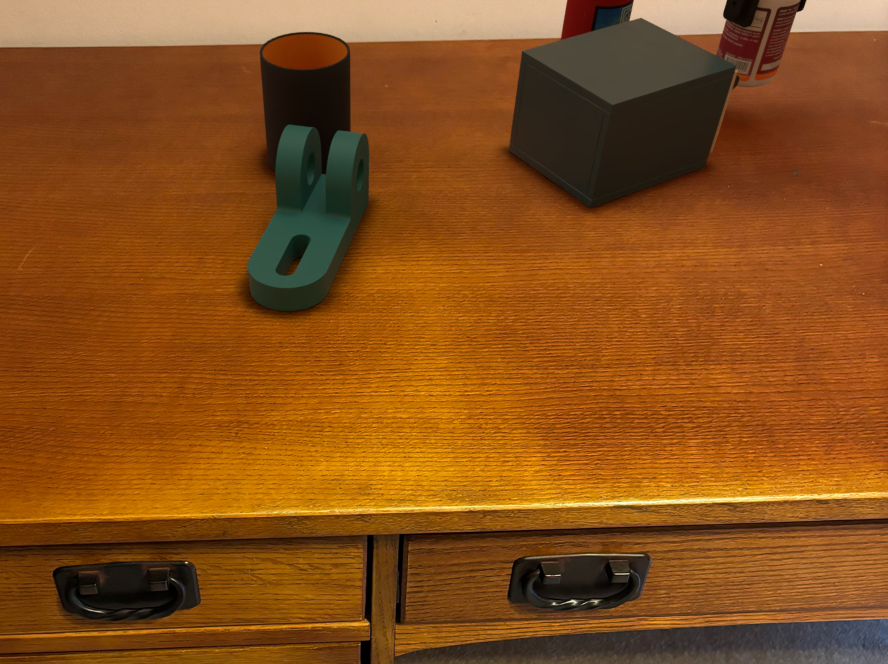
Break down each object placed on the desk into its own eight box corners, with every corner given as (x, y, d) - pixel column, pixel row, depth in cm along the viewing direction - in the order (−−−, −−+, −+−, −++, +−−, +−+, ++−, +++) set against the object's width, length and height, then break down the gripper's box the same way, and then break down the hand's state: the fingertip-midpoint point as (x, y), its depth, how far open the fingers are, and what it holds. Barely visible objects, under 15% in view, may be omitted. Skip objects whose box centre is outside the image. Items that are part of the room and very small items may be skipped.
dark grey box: (619, 115, 97) (641, 17, 89) (705, 167, 90) (737, 65, 82) (508, 150, 92) (521, 50, 84) (590, 208, 85) (612, 104, 78)
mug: (322, 117, 97) (319, 11, 89) (362, 171, 89) (363, 61, 81) (247, 131, 95) (237, 24, 87) (282, 187, 88) (274, 76, 80)
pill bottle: (764, 62, 95) (804, -58, 87) (781, 89, 91) (825, -34, 83) (704, 62, 95) (738, -58, 87) (718, 89, 91) (756, -35, 83)
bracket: (299, 193, 87) (295, 110, 81) (368, 202, 86) (369, 119, 80) (239, 304, 76) (229, 218, 70) (317, 316, 75) (314, 230, 69)
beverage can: (601, 102, 98) (627, -21, 89) (543, 88, 101) (563, -34, 91) (624, 78, 102) (651, -43, 93) (567, 65, 104) (588, -55, 95)
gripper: (800, -199, 70) (725, 48, 84) (946, -227, 75) (854, 9, 89) (727, -219, 74) (668, 20, 88) (871, -244, 80) (794, -16, 93)
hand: (762, 12), depth 88 cm, fingers closed on pill bottle, 6 cm apart
